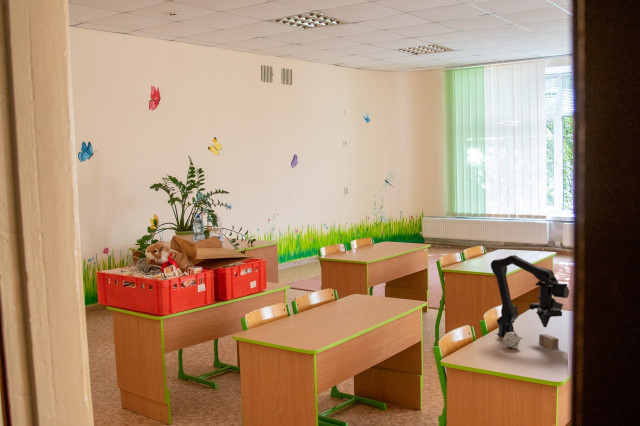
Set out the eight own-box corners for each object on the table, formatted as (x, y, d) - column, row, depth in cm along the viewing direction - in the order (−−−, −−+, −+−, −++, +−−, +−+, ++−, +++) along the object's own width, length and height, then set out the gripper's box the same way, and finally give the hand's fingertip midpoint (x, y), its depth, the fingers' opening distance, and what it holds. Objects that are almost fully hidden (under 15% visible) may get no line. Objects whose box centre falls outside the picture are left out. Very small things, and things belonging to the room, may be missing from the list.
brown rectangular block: (539, 343, 287) (549, 348, 279) (539, 334, 287) (550, 339, 278) (547, 343, 288) (558, 348, 280) (547, 333, 288) (558, 338, 279)
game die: (514, 356, 278) (523, 343, 272) (497, 349, 279) (505, 335, 273) (516, 343, 285) (525, 330, 278) (499, 336, 286) (507, 322, 280)
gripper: (572, 298, 278) (571, 330, 279) (548, 291, 296) (548, 321, 297) (551, 299, 276) (550, 332, 277) (529, 292, 294) (528, 322, 295)
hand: (544, 327), depth 286 cm, fingers closed
